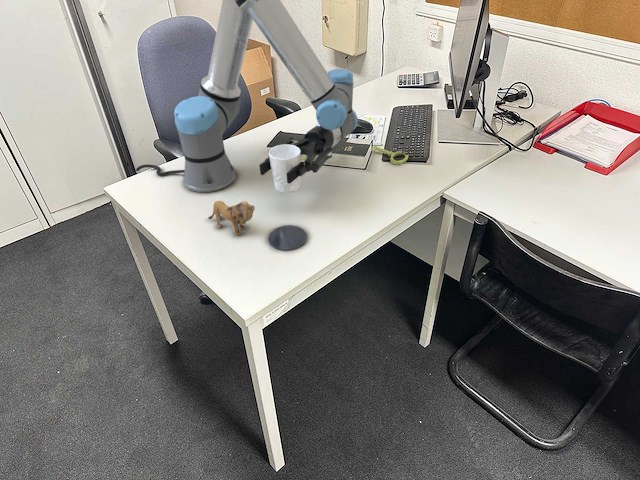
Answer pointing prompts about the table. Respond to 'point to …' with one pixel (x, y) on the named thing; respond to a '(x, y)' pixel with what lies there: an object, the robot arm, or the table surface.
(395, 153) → the key
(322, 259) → the table surface
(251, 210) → the lion figurine
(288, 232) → the slate coaster
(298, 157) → the white cup
